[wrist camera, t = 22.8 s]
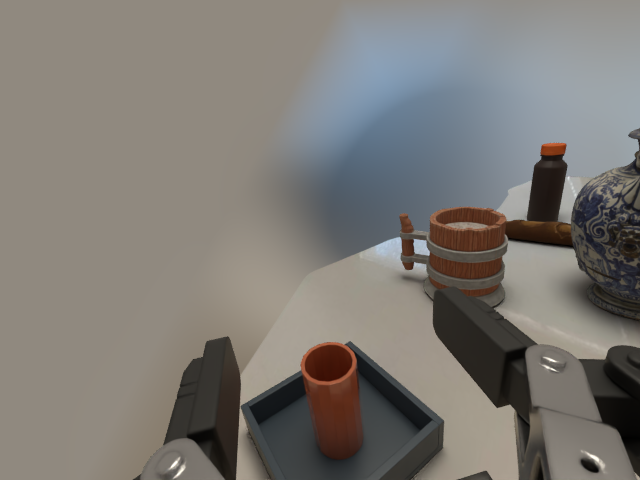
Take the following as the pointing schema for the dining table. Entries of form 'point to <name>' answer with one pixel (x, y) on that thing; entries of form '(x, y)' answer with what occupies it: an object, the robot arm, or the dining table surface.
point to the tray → (379, 430)
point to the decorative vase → (611, 237)
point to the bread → (540, 231)
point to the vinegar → (547, 184)
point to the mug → (460, 251)
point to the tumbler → (334, 399)
